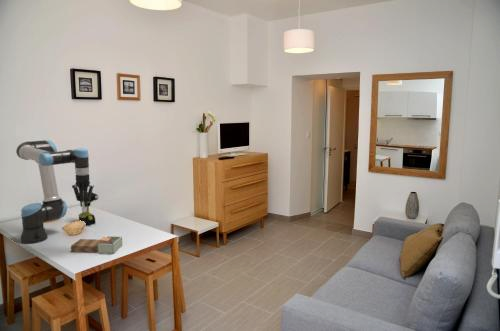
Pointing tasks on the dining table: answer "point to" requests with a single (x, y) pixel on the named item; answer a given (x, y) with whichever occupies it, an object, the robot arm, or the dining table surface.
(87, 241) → the walnut board
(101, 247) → the tray
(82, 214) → the cordless drill
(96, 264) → the dining table surface
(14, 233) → the dining table surface
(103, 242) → the peach square block
